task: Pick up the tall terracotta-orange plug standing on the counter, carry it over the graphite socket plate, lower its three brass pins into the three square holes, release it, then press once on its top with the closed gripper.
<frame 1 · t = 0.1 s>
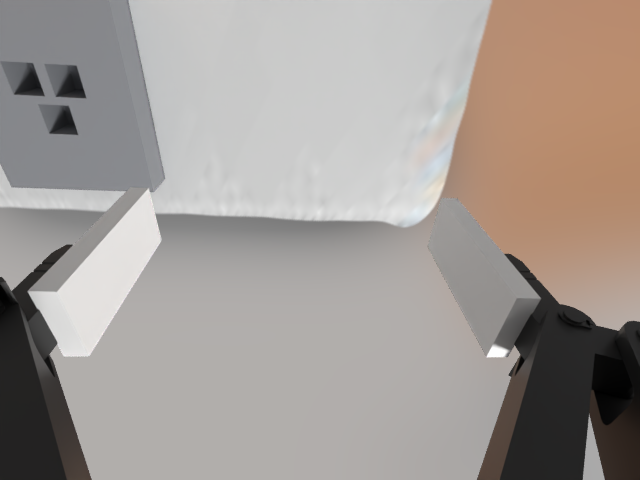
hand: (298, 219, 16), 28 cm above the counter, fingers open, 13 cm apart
socket: (73, 92, 38), on the counter
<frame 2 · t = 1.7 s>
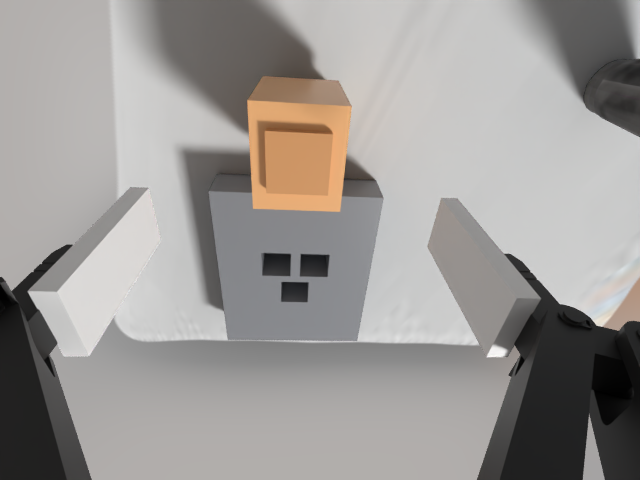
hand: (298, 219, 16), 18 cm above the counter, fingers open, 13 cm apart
plug: (299, 115, 31), on the counter
beverage cup: (608, 86, 31), on the counter
socket: (295, 256, 40), on the counter
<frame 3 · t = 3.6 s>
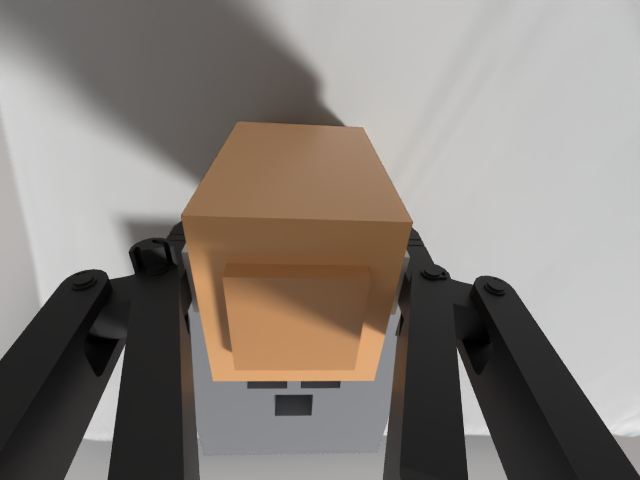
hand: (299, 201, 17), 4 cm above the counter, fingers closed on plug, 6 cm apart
plug: (299, 172, 20), on the counter, touching gripper
socket: (294, 347, 29), on the counter
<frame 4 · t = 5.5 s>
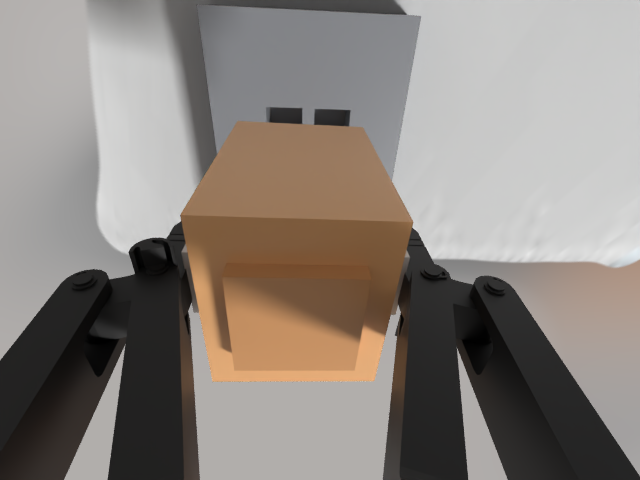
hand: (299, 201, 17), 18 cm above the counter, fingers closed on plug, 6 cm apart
plug: (299, 172, 20), point 14 cm above the counter, touching gripper
socket: (307, 133, 33), on the counter
when the fingers open (6 cm above the counter, at t = 7.6 s): plug stays where it is, resting on socket.
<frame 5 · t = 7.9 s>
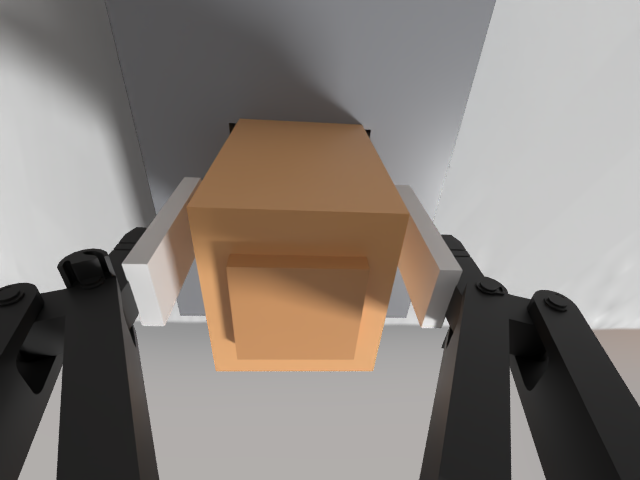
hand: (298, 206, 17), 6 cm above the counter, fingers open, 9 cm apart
plug: (300, 169, 21), point 1 cm above the counter, touching socket
socket: (299, 161, 22), on the counter
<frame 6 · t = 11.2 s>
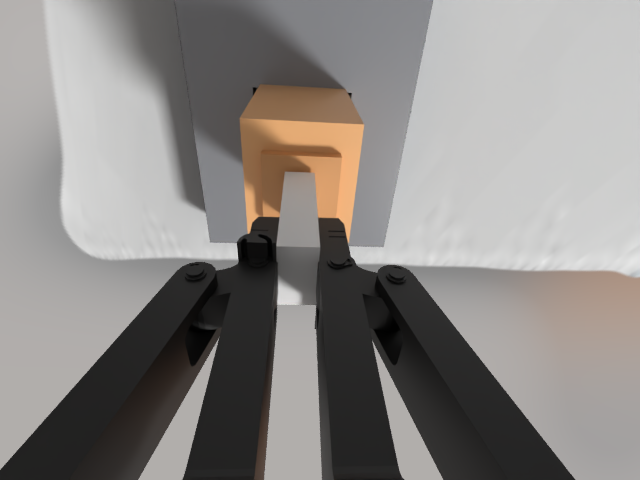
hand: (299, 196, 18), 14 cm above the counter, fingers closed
plug: (301, 127, 28), point 1 cm above the counter, touching gripper, socket
socket: (301, 122, 29), on the counter
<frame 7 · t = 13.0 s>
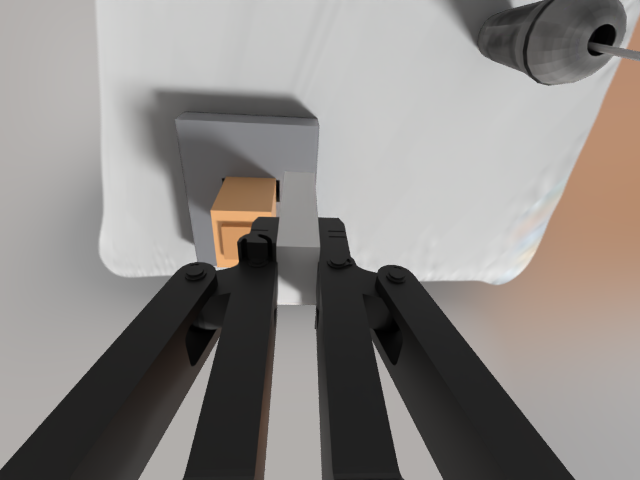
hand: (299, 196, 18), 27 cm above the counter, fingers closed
plug: (254, 195, 45), point 1 cm above the counter, touching socket
beverage cup: (497, 36, 39), on the counter
socket: (255, 190, 47), on the counter
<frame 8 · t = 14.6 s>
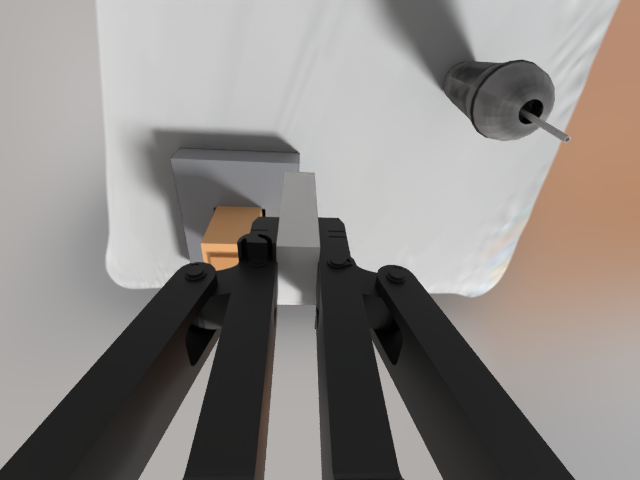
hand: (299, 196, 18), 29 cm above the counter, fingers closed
plug: (243, 219, 50), point 1 cm above the counter, touching socket
beverage cup: (461, 81, 42), on the counter
socket: (245, 214, 51), on the counter
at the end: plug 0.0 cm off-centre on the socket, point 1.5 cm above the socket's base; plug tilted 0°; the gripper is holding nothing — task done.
